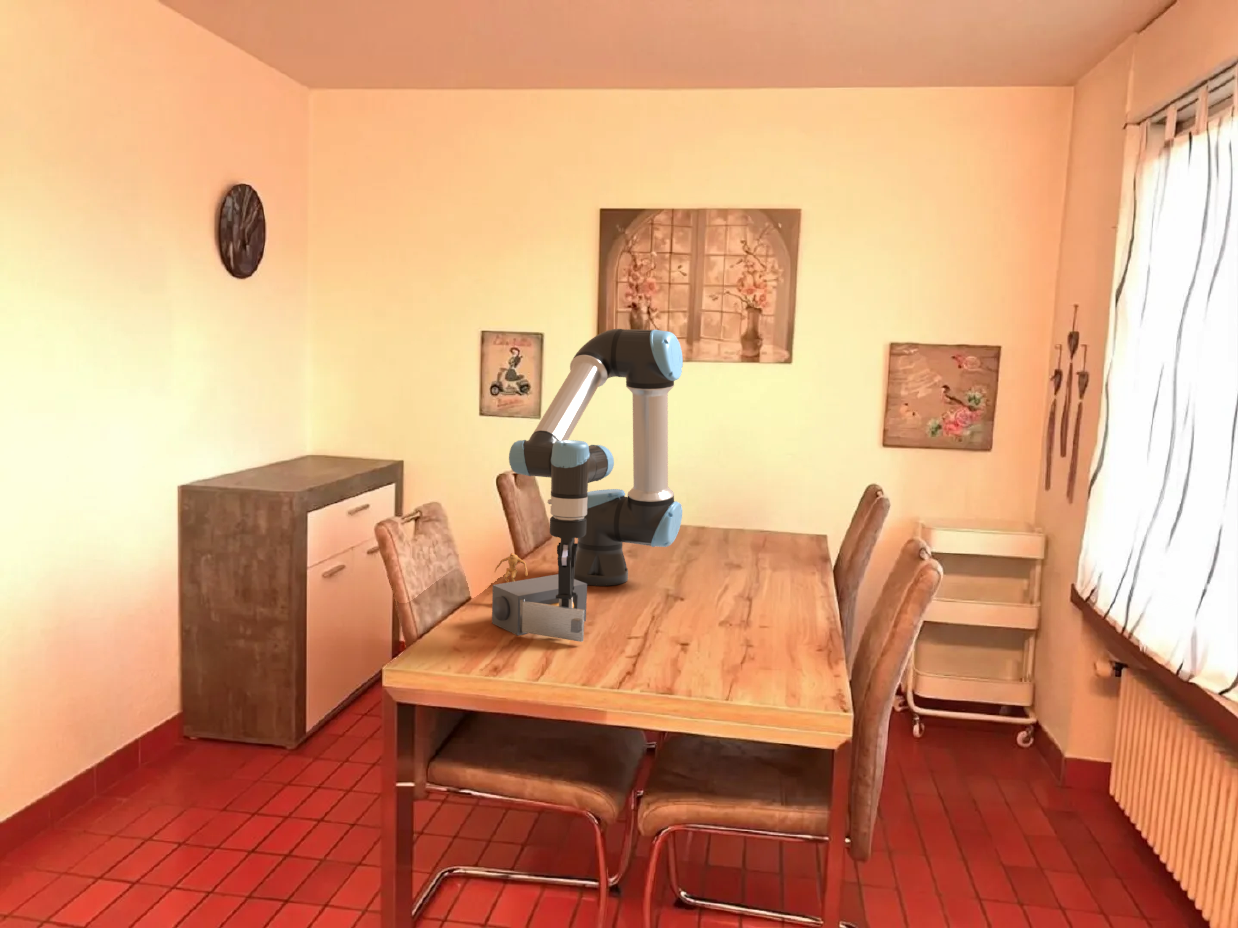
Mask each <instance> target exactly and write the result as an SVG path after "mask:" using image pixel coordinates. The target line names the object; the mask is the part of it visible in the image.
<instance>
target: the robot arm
mask: <svg viewBox="0 0 1238 928" xmlns="http://www.w3.org/2000/svg"><path fill="white" fill-rule="evenodd" d="M683 360H684V359H683V351H682V347H681V343H680V341H679V340H678V337H677V336H676V335H675V333H673V332H672V331H667V330H659V329H624V328H614V329H613V328H612V329H607V330H606V331H603V332H601V333H599V334H597V335H595V336H594V337H592V338H591V339H590V340H588V341H587V342H586V343H585V344H584V345H582V346H581V347H580V348H579V350H578V351H577V352H576V353H575V355H574V357H573V358H572V359H571V361H570V363H569V369H570V370H569V373H568V375H567V376H566V378H565V379H564V381H563V383H562V384H561V386H560V388H559V389H558V391H557V393H556V395H554V397H553V400H552V401H551V402H550V404H549V406H548V408H547V410H545V413H544V414H543V416H542V418H541V419H540V421H539V422H538V424H537V427H536V428H535V429H534V431H533V433H532V434H531V436H530V437H529V439H528V440H526V439H523V440H522V439H521V440H516V441H514V442H513V443H512V445H511V446H510V449H509V454H508V463H509V466H510V469H511V470H512V471H513V472H514V473H515V474H518V475H523V476H528V477H539V478H550V479H551V480H550V481H551V482H550V486H551V487H550V489H551V490H550V499H549V498H548V499H547V504H548V505H550V512H549V513H550V514H551V517H550V518H549V535H551V536H552V537H554V538H559V539H560V542H558V545H557V546H556V554H557V568H558V571H557V574H558V595H556V599H559V606H562V607H569V608H572V606H573V597H572V596H576V593H575V592H573V590H574V579H575V580H578V581H581V582H584V583H586V584H587V586H600V587H601V586H605V587H606V586H607V587H609V586H616V585H622V584H624V583H626V582H627V581H628V580H629V570H628V566H627V563H626V558H625V554H624V551H623V543H624V544H625V543H626V544H627V543H628V544H632V545H633V544H634V545H641V546H649V547H652V548H655V547H659V548H660V547H661V548H662V547H663V548H668V547H669V546H671V545H672V544H673V543H674V542H675V540H676V538H677V536H678V533H679V531H680V528H681V525H682V519H683V506H682V503H681V502H679V501H677V500H676V501H675V492H674V491H673V490H672V489H671V488H670V487H669V466H668V464H669V458H668V457H669V453H668V452H669V445H668V444H669V441H668V440H669V436H668V435H669V426H668V425H669V419H668V418H669V410H668V407H669V402H668V401H669V398H668V397H669V392H670V391H671V390H672V389H673V388H674V386H675V381H677V380H679V379H680V377H681V375H682V373H683V371H682V368H683V365H684V364H683V363H684V362H683ZM614 377H616V378H625V380H626V381H625V383H626V384H625V385H626V386H625V387H626V388H627V389H628V390H629V391H630V392H631V394H632V461H633V462H632V463H633V469H632V471H633V487H632V488H631V489H630V490H629V491H628V492H627V496H626V493H625V491H624V490H623V489H618V488H611V489H610V488H608V489H597V490H590V491H588V487H589V484H590V483H593V482H599V481H601V480H604V478H606V477H607V476H609V475H610V474H611V473H612V471H613V468H614V465H615V460H614V456H613V454H612V452H611V450H610V449H609V448H608V447H606V446H603V445H601V444H590V445H589V444H588V442H586V441H582V440H578V439H576V440H574V439H571V440H570V437H571V435H572V433H573V432H574V430H575V428H576V426H578V425H577V424H578V423H579V421H580V419H581V417H582V416H583V414H584V412H585V410H586V409H587V407H588V406H589V403H590V402H591V400H592V399H593V396H595V393H596V392H597V389H598V388H600V387H602V386H603V385H605V383H606V382H607V380H608V379H610V378H614ZM576 539H577V543H576V542H575V541H576Z"/></svg>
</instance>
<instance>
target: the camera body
mask: <svg viewBox="0 0 1238 928" xmlns="http://www.w3.org/2000/svg"><path fill="white" fill-rule="evenodd" d="M573 592H575V593H576V596H572V597H573V606H572V608H575V609H582V610H584V622H587V621H586V620H587V599H588V597H587V596H588V585H587V584H586V583H584V582H581V581H578V580H575V579H574V590H573ZM556 595H558V573H557V574H551V575H545V576H541V577H539V576H538V577H532V578H526V579H521V580H515V581H514V582H512V581H509V582H508V583H507V582H503V583H498V584H493V585H492V596H491V597H492V599H491V601H492V602H491V603H492V604H491V605H492V606H491V609H492V610H491V611H492V612H491V624H493V625H495V626H498V627H499V628H501V629H503V630H505V631H507V632H509V633H511V632H512V633H511V634H513V635H516V636H522V635H526V634H528V633H523V634H520V633H519V622H520V599H525V601H528V602H535V603H542V604H549V605H555V606H559V599H556Z"/></svg>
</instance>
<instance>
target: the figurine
mask: <svg viewBox="0 0 1238 928" xmlns="http://www.w3.org/2000/svg"><path fill="white" fill-rule="evenodd" d="M503 562H504V563H505V562H507V563H508V566H509V567H507V568H506V571H505V574H504V577H503V578H504V580H505V583H508V582H510V579H508V577H509V576H511V582H514V581H516V580H515V578H516V576H517V573H518V568H516V567H517V565H518V562H519V563H520V564H523V566H524V570H525V572H524V575H525V576H524V577H528V568H527V563H526V562H525V561H524V559H523V560H522V559H521V558H520V557H519V555H518V554H515V553H513V552H511V553H510V555H509V556H507V557H505V558H503V559H501V560H500V561H499V563H498V564H497V565H496V567H495V569H494V572H496V571H497V569H499V567H500V566H501V564H503Z"/></svg>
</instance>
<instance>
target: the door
mask: <svg viewBox="0 0 1238 928" xmlns="http://www.w3.org/2000/svg"><path fill="white" fill-rule="evenodd" d="M584 629H585V621H584V610H582V609H575V608H569V607H562V606H555V605H549V604H542V603H535V602H528V601H525V599H520V622H519V633H520V634H522V635H524V634H523V633H527V634H530V635H538V636H544V637H548V638H549V637H551V638H557V639H560V640H561V639H562V640H567V641H573V642H579V643H580V642H581V643H583V642H584V635H585V634H584V633H585V632H584V631H585V630H584Z"/></svg>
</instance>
